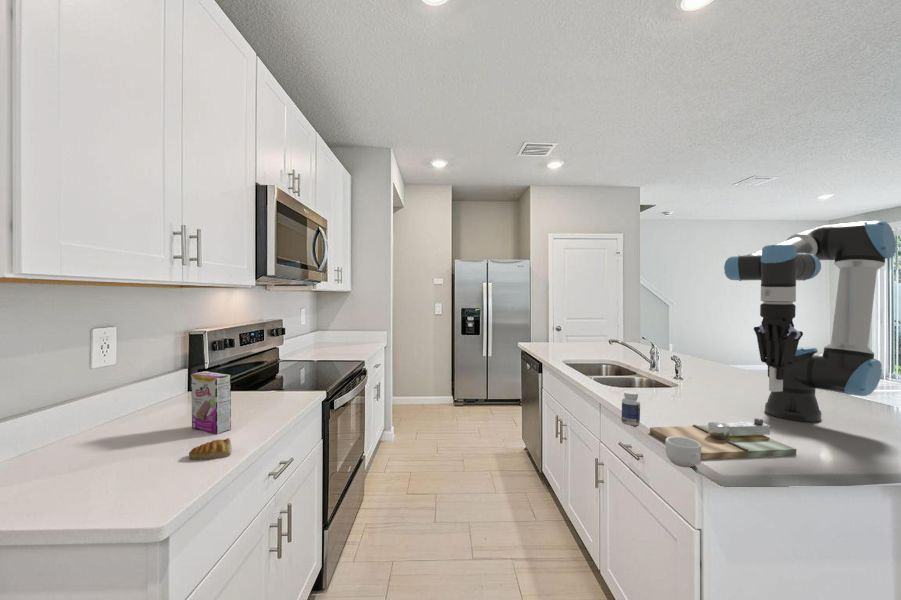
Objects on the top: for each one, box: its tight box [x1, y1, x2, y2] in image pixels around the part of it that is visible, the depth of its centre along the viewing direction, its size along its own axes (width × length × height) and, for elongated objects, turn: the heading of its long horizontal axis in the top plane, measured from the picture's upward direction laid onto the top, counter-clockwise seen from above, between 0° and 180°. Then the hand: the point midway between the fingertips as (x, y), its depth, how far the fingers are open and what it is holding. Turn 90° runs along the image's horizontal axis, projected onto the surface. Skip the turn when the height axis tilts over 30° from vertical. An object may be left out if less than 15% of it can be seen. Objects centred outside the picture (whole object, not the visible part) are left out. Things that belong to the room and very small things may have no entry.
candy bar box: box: [190, 370, 232, 435], centre depth 128 cm, size 11×5×16 cm, turn 65°
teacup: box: [664, 436, 702, 468], centre depth 106 cm, size 10×8×5 cm
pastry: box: [188, 437, 233, 461], centre depth 109 cm, size 9×7×4 cm
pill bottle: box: [620, 390, 641, 426], centre depth 138 cm, size 5×5×10 cm
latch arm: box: [707, 418, 771, 437], centre depth 121 cm, size 16×5×4 cm, turn 96°
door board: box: [649, 424, 797, 460], centre depth 121 cm, size 28×20×2 cm
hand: (775, 390), depth 117 cm, fingers closed
